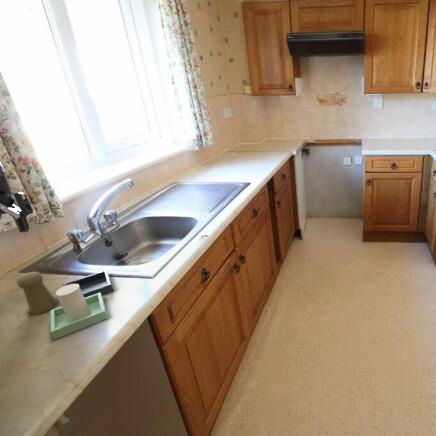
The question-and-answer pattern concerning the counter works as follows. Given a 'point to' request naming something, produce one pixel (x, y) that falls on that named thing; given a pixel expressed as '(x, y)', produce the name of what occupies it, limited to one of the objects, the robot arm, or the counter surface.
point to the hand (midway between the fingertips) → (7, 236)
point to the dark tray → (94, 284)
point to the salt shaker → (73, 302)
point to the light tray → (64, 327)
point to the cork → (36, 293)
